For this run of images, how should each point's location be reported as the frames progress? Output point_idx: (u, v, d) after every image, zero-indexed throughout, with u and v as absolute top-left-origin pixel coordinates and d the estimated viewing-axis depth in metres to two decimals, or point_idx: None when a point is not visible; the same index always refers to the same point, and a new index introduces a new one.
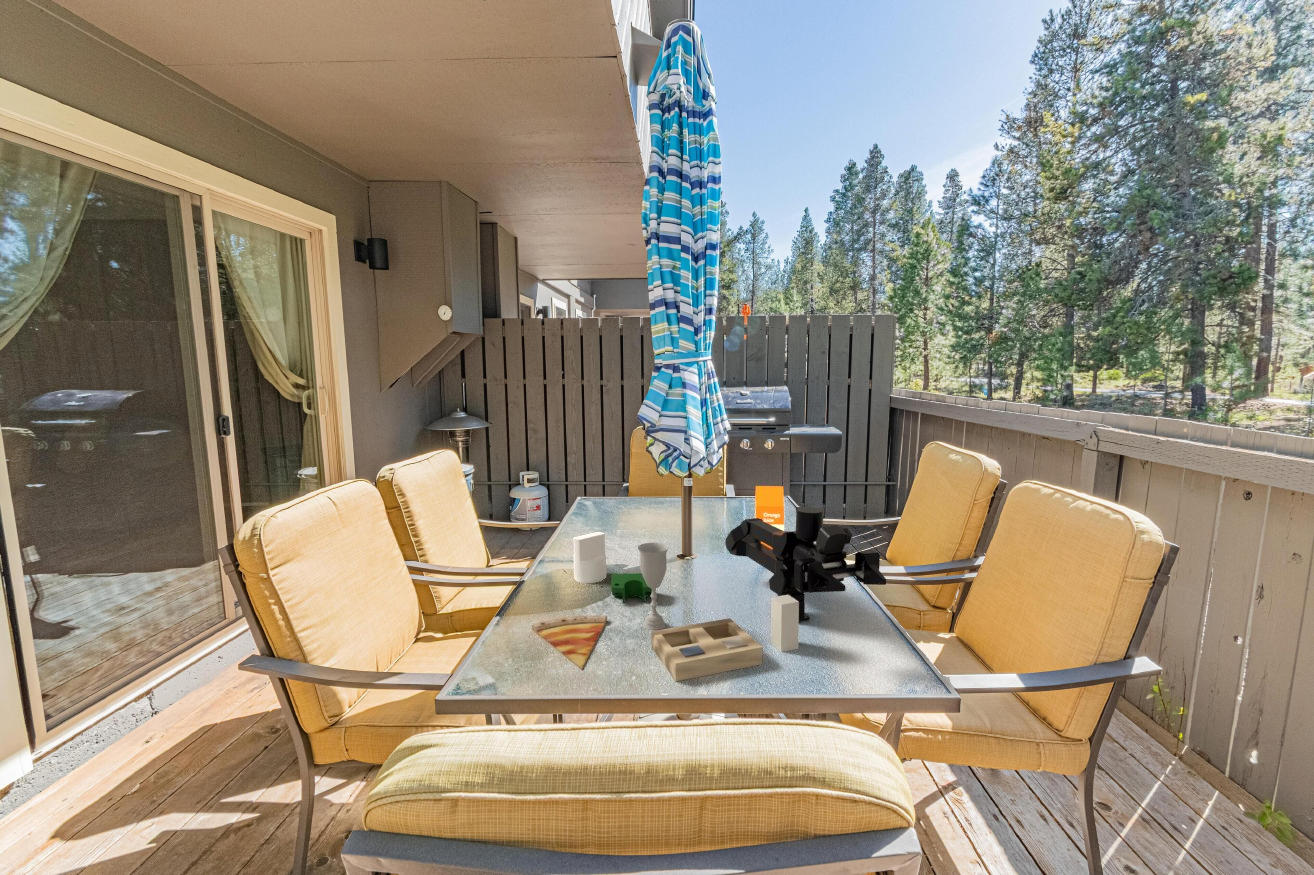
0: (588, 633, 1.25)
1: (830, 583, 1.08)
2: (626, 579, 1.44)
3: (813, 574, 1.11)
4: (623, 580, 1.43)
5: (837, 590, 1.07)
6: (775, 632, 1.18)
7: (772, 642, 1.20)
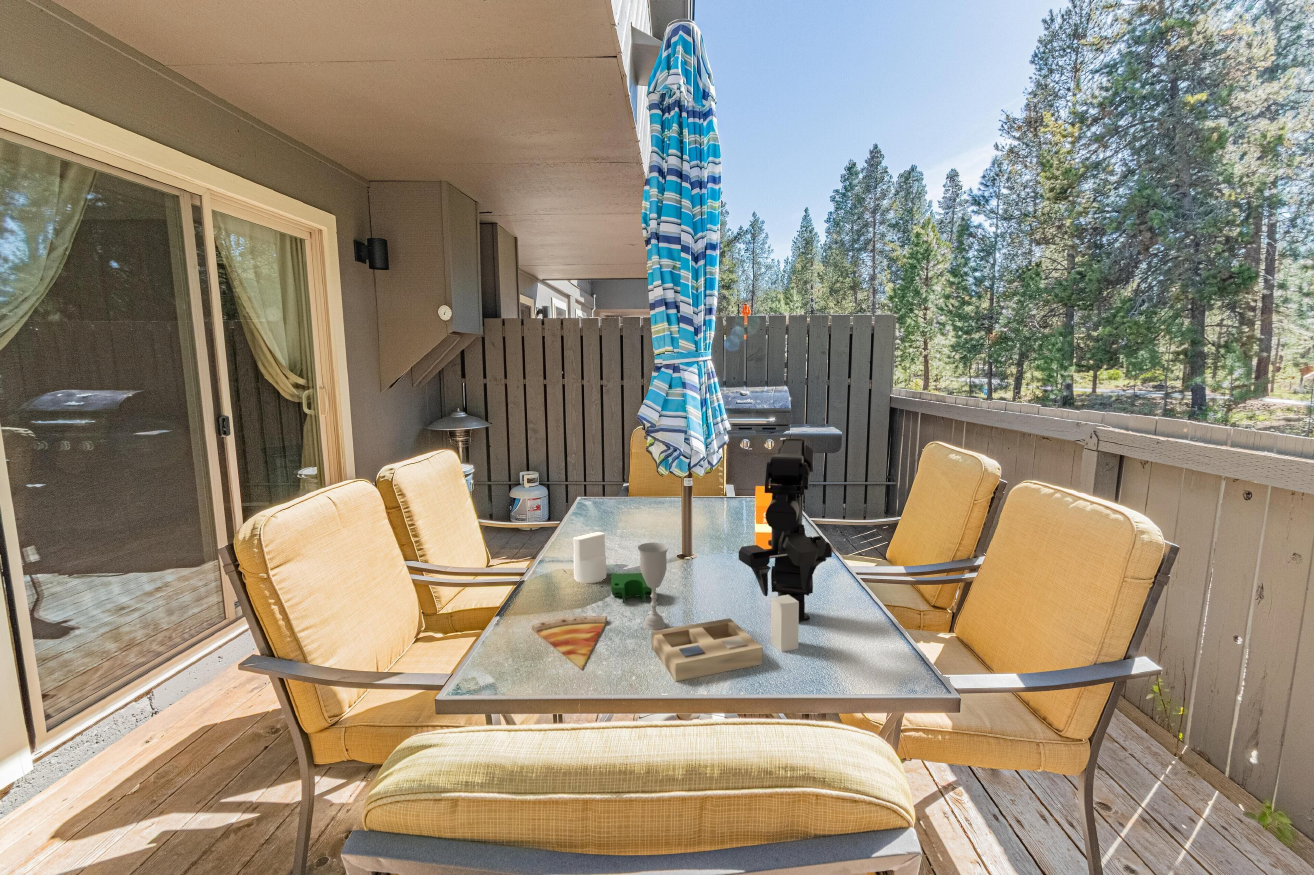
0: (588, 633, 1.25)
1: (761, 582, 1.15)
2: (626, 579, 1.44)
3: None
4: (623, 580, 1.43)
5: (761, 587, 1.17)
6: (775, 632, 1.18)
7: (772, 642, 1.20)
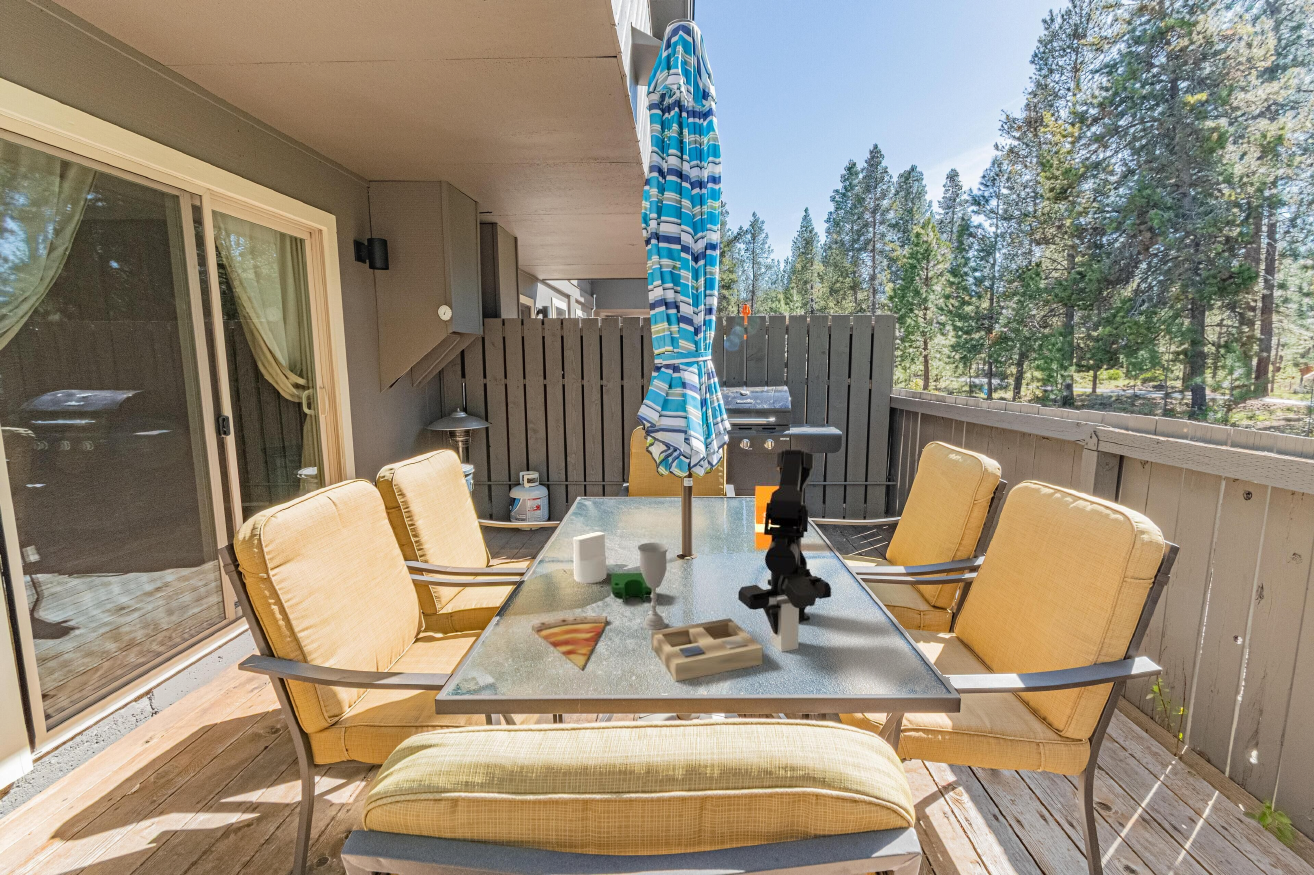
0: (588, 633, 1.25)
1: (771, 621, 1.17)
2: (626, 579, 1.44)
3: None
4: (623, 580, 1.44)
5: (771, 625, 1.18)
6: None
7: (772, 642, 1.19)
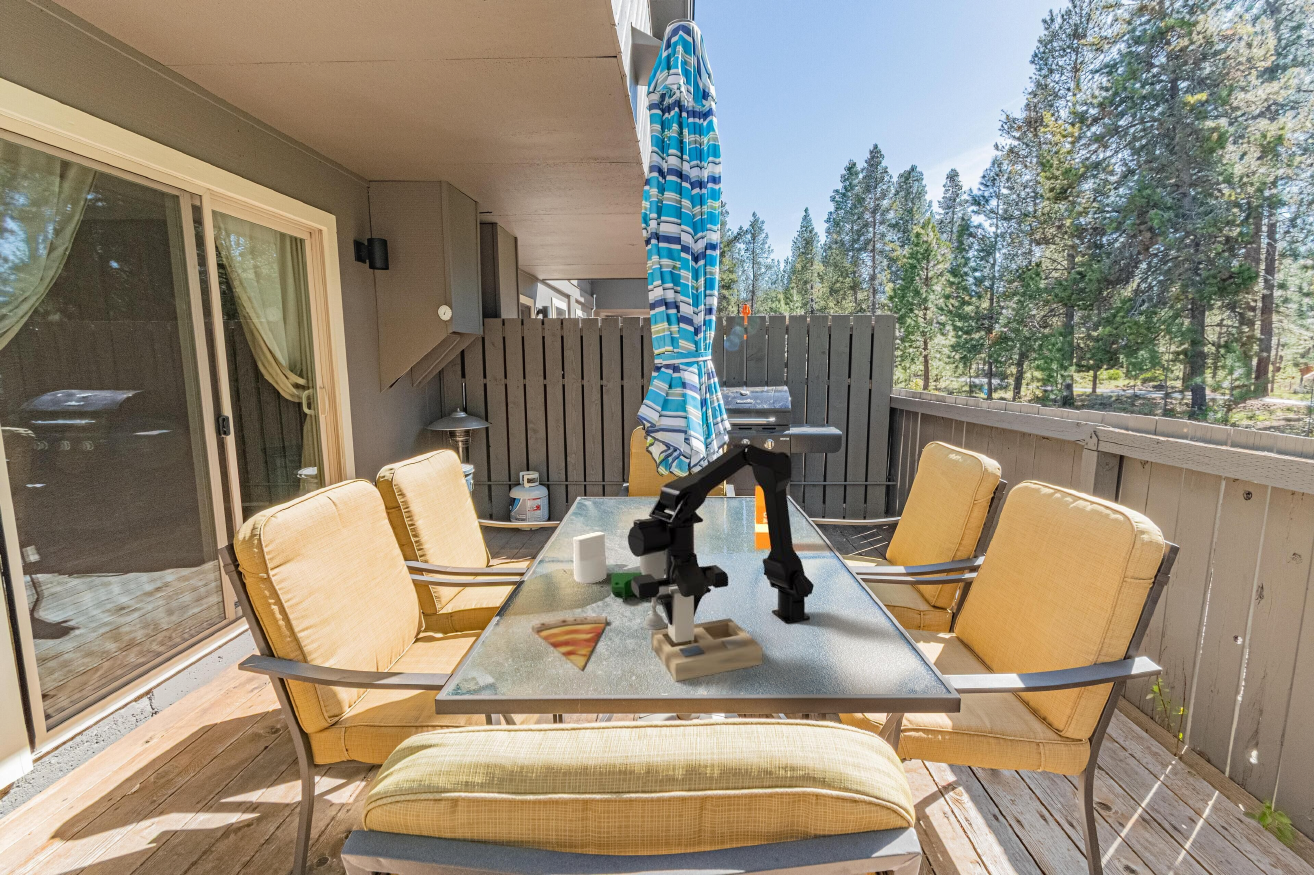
0: (588, 634, 1.24)
1: (665, 611, 1.14)
2: (626, 579, 1.44)
3: None
4: (623, 579, 1.44)
5: (666, 615, 1.15)
6: None
7: (669, 633, 1.16)
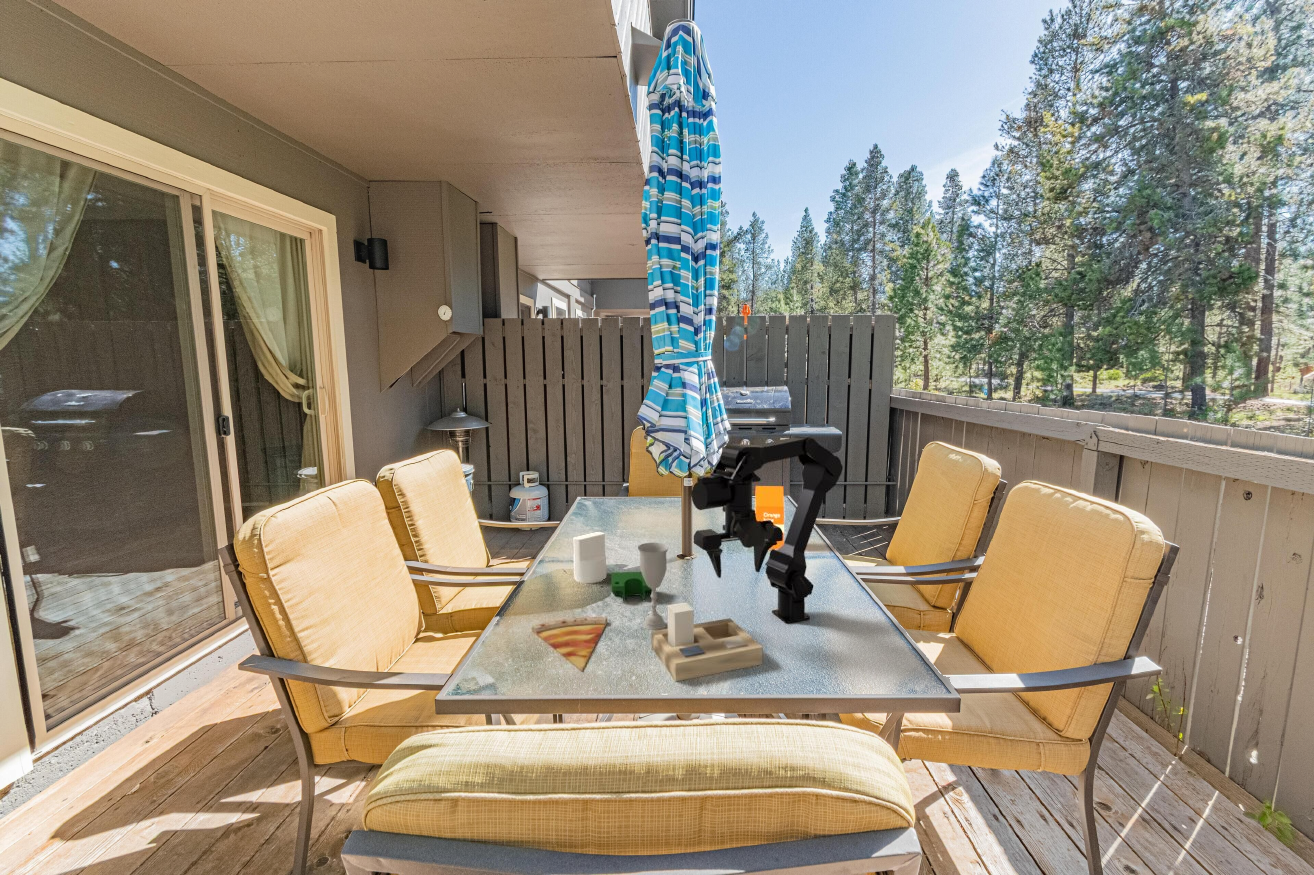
0: (588, 635, 1.24)
1: (714, 565, 1.22)
2: (626, 578, 1.45)
3: None
4: (623, 579, 1.44)
5: (715, 569, 1.23)
6: (671, 641, 1.15)
7: None
